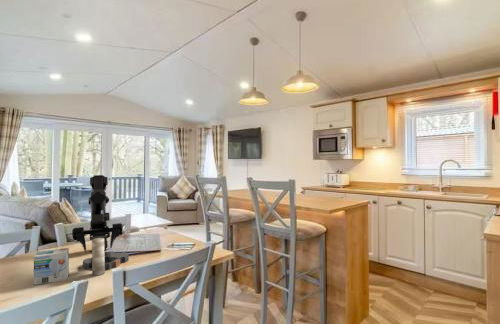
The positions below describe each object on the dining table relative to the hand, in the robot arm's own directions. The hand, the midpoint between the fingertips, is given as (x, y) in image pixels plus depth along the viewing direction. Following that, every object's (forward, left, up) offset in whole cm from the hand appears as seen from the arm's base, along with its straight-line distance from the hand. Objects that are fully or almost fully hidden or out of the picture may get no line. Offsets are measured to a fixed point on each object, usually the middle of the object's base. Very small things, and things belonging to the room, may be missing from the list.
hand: (98, 249), depth 116 cm
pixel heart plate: (-4, +10, -10) cm, 14 cm away
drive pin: (+1, -1, -10) cm, 10 cm away
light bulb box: (-13, -9, -10) cm, 19 cm away
